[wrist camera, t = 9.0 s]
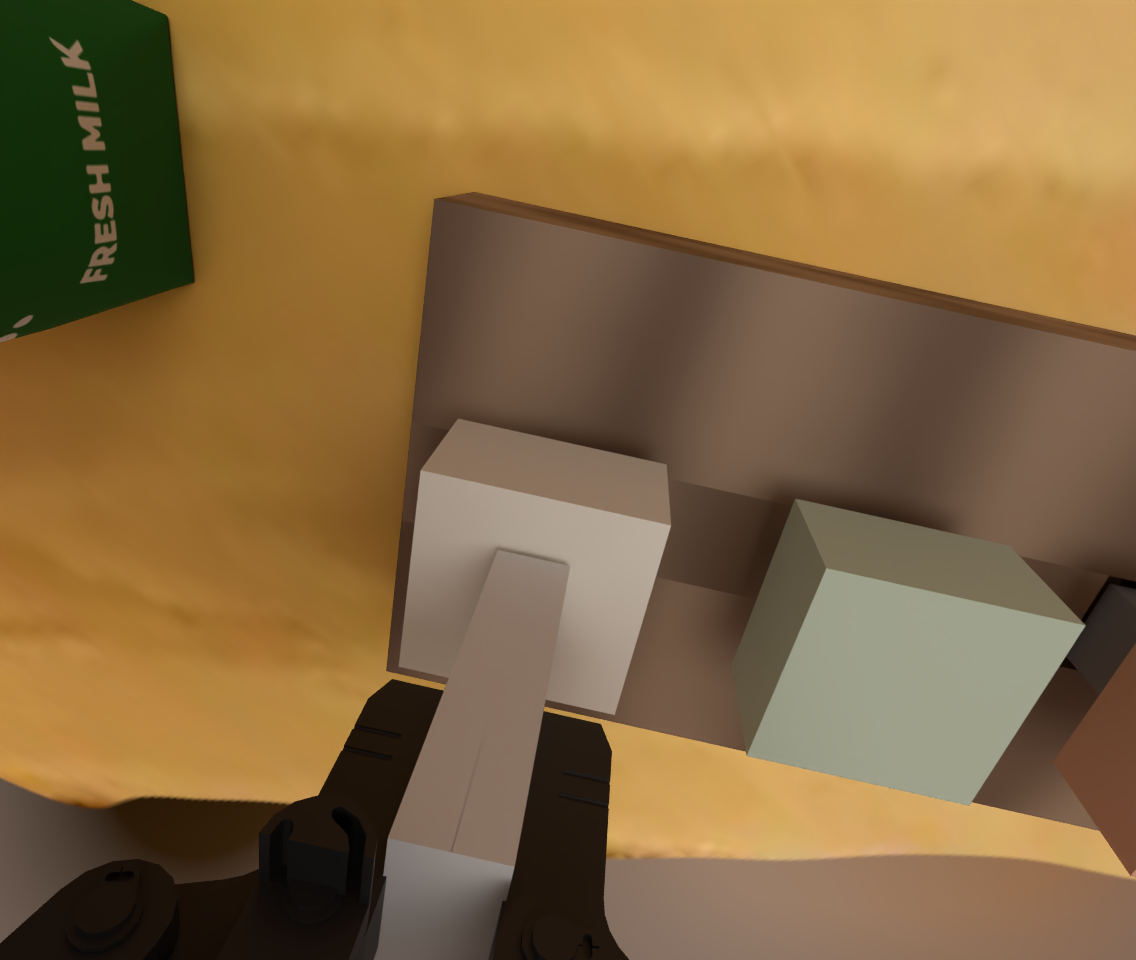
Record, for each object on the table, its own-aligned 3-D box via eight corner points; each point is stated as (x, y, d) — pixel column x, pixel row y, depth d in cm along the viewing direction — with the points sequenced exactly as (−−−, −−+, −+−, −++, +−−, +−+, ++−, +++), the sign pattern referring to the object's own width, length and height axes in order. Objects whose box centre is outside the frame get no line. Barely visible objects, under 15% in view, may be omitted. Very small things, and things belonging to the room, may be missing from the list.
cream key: (462, 536, 21) (398, 666, 16) (484, 381, 19) (420, 470, 13) (622, 571, 21) (614, 714, 16) (663, 421, 19) (671, 525, 13)
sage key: (719, 599, 21) (746, 755, 15) (773, 449, 18) (826, 568, 13) (883, 636, 21) (969, 805, 15) (956, 489, 18) (1085, 625, 13)
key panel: (423, 598, 25) (386, 670, 22) (473, 191, 19) (434, 199, 16) (1067, 741, 25) (1138, 839, 21) (1322, 375, 19) (1481, 426, 15)
